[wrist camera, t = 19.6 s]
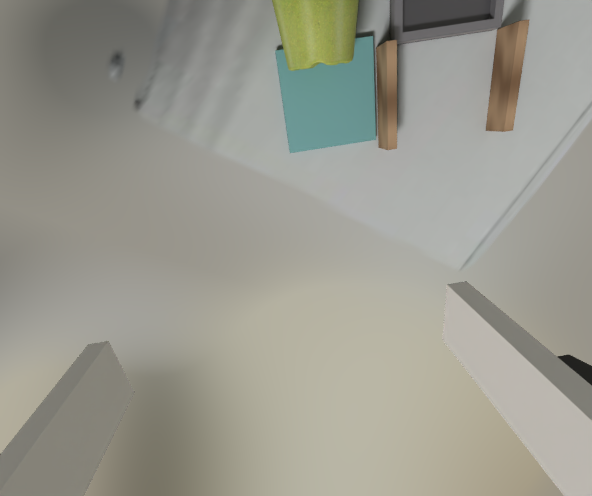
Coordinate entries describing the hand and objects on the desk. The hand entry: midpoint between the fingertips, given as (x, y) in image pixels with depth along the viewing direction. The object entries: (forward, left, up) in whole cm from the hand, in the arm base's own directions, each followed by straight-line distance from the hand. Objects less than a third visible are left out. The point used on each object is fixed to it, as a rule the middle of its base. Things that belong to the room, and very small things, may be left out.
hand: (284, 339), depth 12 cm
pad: (-9, +8, -27) cm, 29 cm away
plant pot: (-11, +6, -23) cm, 27 cm away
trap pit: (-16, +20, -27) cm, 37 cm away
